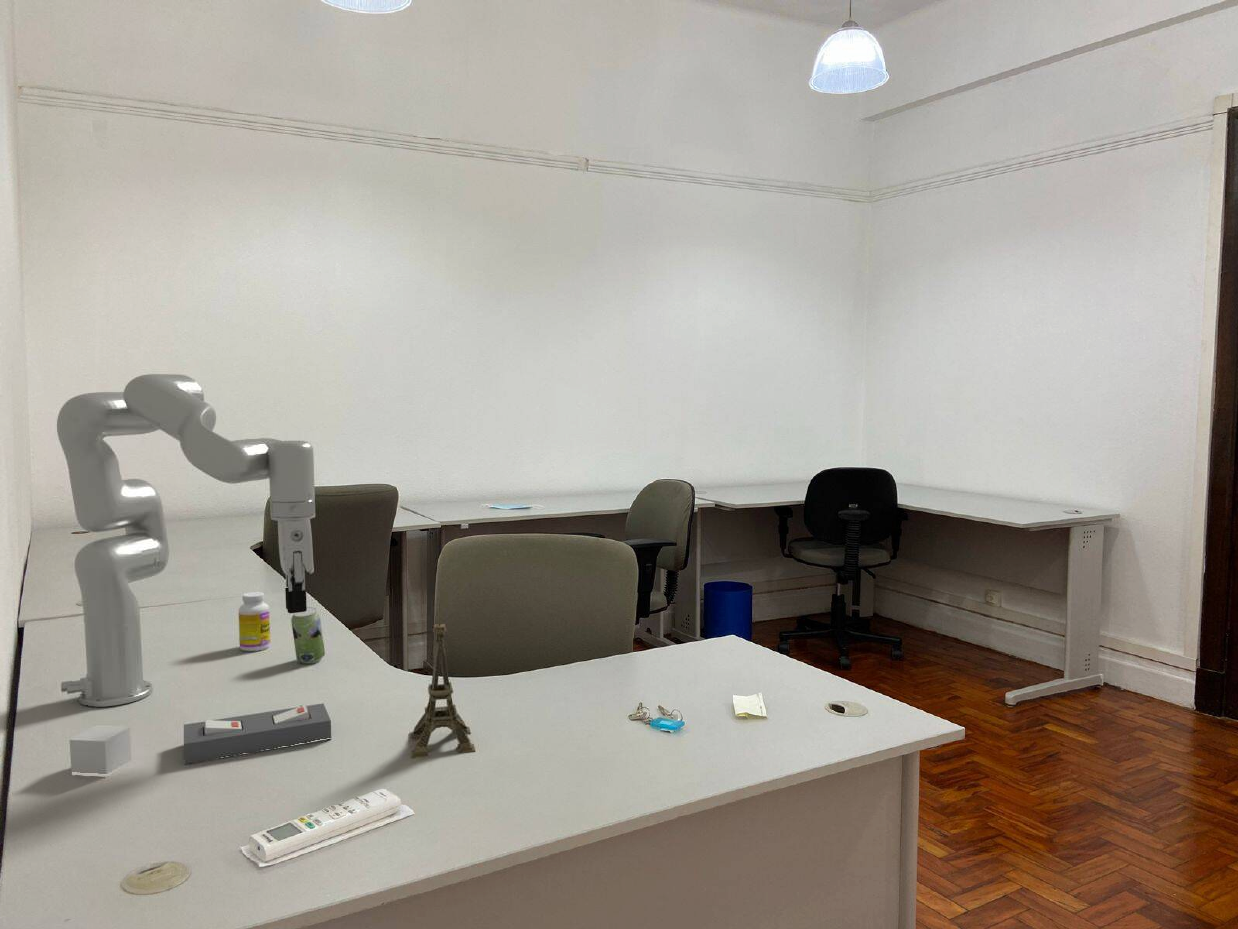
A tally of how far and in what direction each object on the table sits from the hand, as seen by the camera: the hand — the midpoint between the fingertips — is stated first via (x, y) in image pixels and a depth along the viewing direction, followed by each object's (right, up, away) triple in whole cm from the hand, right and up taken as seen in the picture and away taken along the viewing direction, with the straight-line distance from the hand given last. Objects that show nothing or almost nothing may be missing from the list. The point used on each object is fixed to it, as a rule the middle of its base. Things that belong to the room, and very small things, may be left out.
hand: (296, 609), depth 159 cm
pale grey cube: (-25, -23, -17) cm, 38 cm away
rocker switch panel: (-6, -22, -3) cm, 23 cm away
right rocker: (+1, -18, -5) cm, 19 cm away
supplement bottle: (-27, -17, +47) cm, 56 cm away
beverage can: (-11, -18, +37) cm, 42 cm away
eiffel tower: (+28, -22, -6) cm, 36 cm away
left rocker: (-9, -19, -9) cm, 23 cm away
